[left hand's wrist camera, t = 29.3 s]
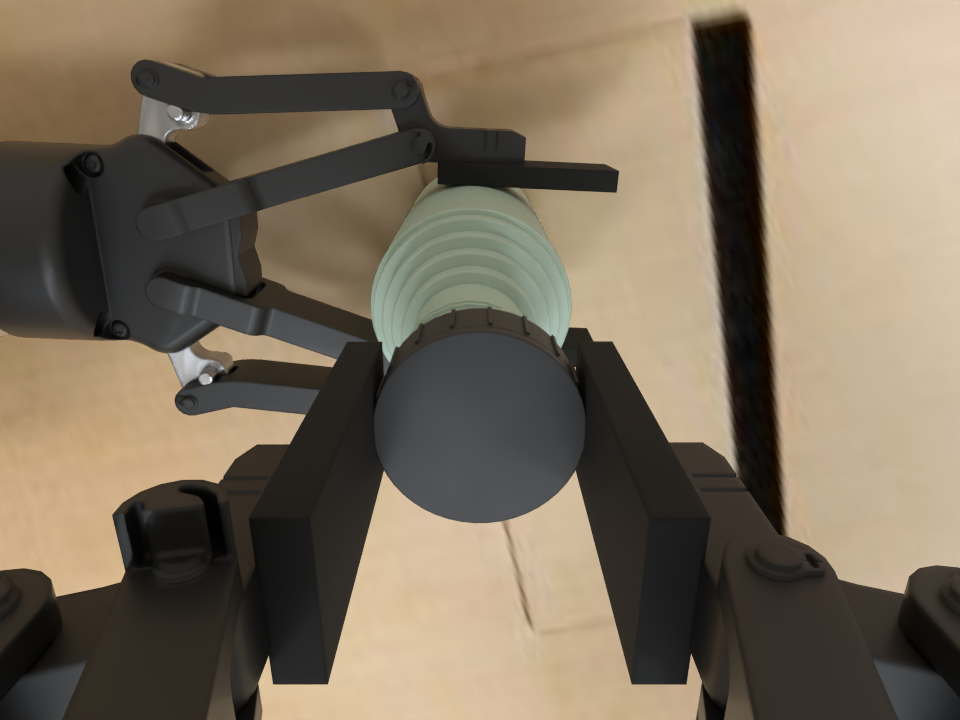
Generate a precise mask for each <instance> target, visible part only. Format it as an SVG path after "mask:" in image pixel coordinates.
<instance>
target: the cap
mask: <svg viewBox="0 0 960 720" xmlns="http://www.w3.org/2000/svg"><path fill="white" fill-rule="evenodd" d="M579 385H580V382H579V379H578V376H577V374H576V371H575V368H574V365H573V363H572V362H571V363H569V361H568V359H567V357H566V356H565V354H564V352H563V350H562V349H561V348H560V346H559V345H558V344H557V342H556V339H555V337H554V336H553V335H551V336H550V335H549V334H548V333H547V332H546V331H544V330H543V329H542V328H540V327H539V326H537V325H536V324H535V323H533V322H531V321H529V320H527V317H526V316H524V315H523V316H522V317H521V316H518V315H516V314H513V313H510V312H506V311H502V310H497V309H492V307H491V306H488V308H470V309H463V310H457V311H456V310H455V309H452V310H451V312H450V313H446V314H444V315H441V316H439V317H436V318H434V319H432V320H430V321H429V322H427V323H425V324H423V323H421V324H419V326H418V329H417V330H415V331H414V332H413V333H412V334H411V335H410V336H409V337H408V338H407V339H406V340H405V341H404V342H403V343H402V344H401V346H400V347H397V346H396V348H395V350H394V353H393V355H392V358H391V361H390V364H389V367H388V369H387V372H386V375H385V376H383V378H382V381H381V383H380V386H379V389H378V392H377V395H376V400H377V401H376V404H375V409H374V430H375V445H376V453H377V455H378V458H379V461H380V463H381V465H382V467H383V469H384V471H385V472H386V474H387V476H388V477H389V479H390V480H391V481H392V483H393V484H394V485H395V486H396V487H397V488H398V489H399V490H400V491H401V492H402V494H403V495H405V496H406V497H407V498H408V499H410V500H411V501H412V502H413V503H415V504H417V505H418V506H420V507H421V508H423V509H425V510H427V511H429V512H431V513H433V514H435V515H438V516H441V517H444V518H447V519H451V520H456V521H461V522H470V523H490V522H499V521H504V520H508V519H512V518H515V517H518V516H521V515H524V514H526V513H528V512H530V511H532V510H534V509H536V508H538V507H540V506H541V505H543V504H544V503H546V502H547V501H549V500H550V499H551V498H552V497H553V496H555V495H556V494H557V493H558V492H559V491H560V490H561V489H562V488H563V487H564V486H565V484H566V483H567V482H568V481H569V479H570V478H571V476H572V475H573V473H574V472H575V470H576V468H577V466H578V464H579V462H580V459H581V457H582V454H583V451H584V439H585V423H586V411H585V407H584V403H583V399H582V396H581V393H580V390H579V388H578V386H579Z"/></svg>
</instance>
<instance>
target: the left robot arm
mask: <svg viewBox="0 0 960 720" xmlns="http://www.w3.org/2000/svg"><path fill="white" fill-rule="evenodd" d="M576 374H577V376H578V379H579V382H580V385H579V386H578V388H579V390H580V393H581V396H582V399H583V403H584V407H585V411H586V423H585V439H584V451H583V454H582V457H581V459H580V462H579V464H578V466H577V468H576V473H577V477H578V481H579V485H580V488H581V492H582V496H583V500H584V504H585V508H586V511H587V515H588V519H589V523H590V527H591V530H592V534H593V538H594V542H595V546H596V550H597V553H598V557H599V561H600V565H601V569H602V572H603V576H604V580H605V584H606V588H607V592H608V595H609V599H610V603H611V607H612V611H613V614H614V618H615V622H616V626H617V630H618V634H619V637H620V641H621V645H622V649H623V653H624V656H625V660H626V664H627V668H628V672H629V676H630V679H631V683H632V684H686V683H687V676H688V670H689V663H690V656H691V654H692V656H693V659H694V662H695V664H696V667H697V669H698V672H699V674H700V677H701V680H702V686H701V692H700V698H699V704H698V711H697V717H696V720H960V568H957V567H947V566H937V565H936V566H930V567H924V568H919V569H918V570H916V571H915V572H914V573H913V574H912V575H910V576H909V579H908V583H907V586H906V590H905V593H904V594H901V593H896V592H891V591H886V590H882V589H877V588H872V587H867V586H862V585H857V584H854V583H850V582H846V581H842V580H839V579H838V578H837V575H836V573H835V571H834V569H833V568H832V567H831V565H830V564H829V563H828V561H827V560H826V559H825V557H823V556H822V555H821V554H819V553H818V552H816V551H815V550H814V549H812V548H811V547H810V546H808V545H806V544H803V543H801V542H799V541H796V540H794V539H792V538H789V537H786V536H781V535H778V533H777V532H776V530H775V529H774V528H773V526H772V525H771V523H770V522H769V520H768V519H767V518H766V516H765V515H764V513H763V512H762V510H761V509H760V507H759V506H758V505H757V503H756V502H755V500H754V499H753V497H752V496H751V494H750V493H749V492H746V487H745V486H744V484H743V483H742V482H741V480H740V479H739V477H736V473H735V471H734V470H733V469H732V467H731V466H730V464H729V463H728V461H727V460H726V459H725V457H724V456H722V455H721V454H719V453H718V452H716V451H715V450H713V449H712V448H710V447H709V446H707V445H706V444H704V443H669V442H668V440H667V439H666V437H665V435H664V433H663V431H662V430H661V428H660V426H659V424H658V423H657V421H656V419H655V417H654V415H653V414H652V412H651V410H650V408H649V406H648V405H647V403H646V401H645V399H644V397H643V396H642V394H641V392H640V390H639V389H638V387H637V385H636V383H635V381H634V380H633V378H632V376H631V374H630V372H629V371H628V369H627V367H626V365H625V364H624V362H623V360H622V358H621V356H620V355H619V353H618V351H617V349H616V347H615V346H614V344H613V342H577V356H576ZM383 376H384V364H383V347H382V342H347V343H346V345H345V347H344V348H343V350H342V352H341V354H340V356H339V357H338V359H337V361H336V363H335V364H334V366H333V368H332V370H331V372H330V373H329V375H328V377H327V379H326V381H325V382H324V384H323V386H322V388H321V390H320V391H319V393H318V395H317V397H316V398H315V400H314V402H313V404H312V406H311V407H310V409H309V411H308V413H307V415H306V416H305V418H304V420H303V422H302V423H301V425H300V427H299V429H298V431H297V432H296V434H295V436H294V438H293V440H292V441H291V443H290V445H256V446H254V447H253V448H251V449H250V450H248V451H247V452H245V453H244V454H242V455H241V456H239V457H238V458H236V459H235V460H234V462H233V463H232V465H231V466H230V468H229V469H228V471H227V472H226V474H225V475H224V479H223V480H221V481H220V482H219V484H217V483H213V482H209V481H205V480H180V481H175V482H170V483H165V484H160V485H157V486H155V487H152V488H150V489H147V490H144V491H142V492H139V493H138V494H136V495H135V496H133V497H131V498H130V499H128V500H127V501H125V502H123V503H122V504H121V505H120V507H119V508H118V509H117V510H116V511H115V512H114V514H113V515H112V516H113V520H114V525H115V529H116V533H117V537H118V542H119V546H120V550H121V554H122V558H123V563H124V567H125V571H126V572H125V574H124V577H123V579H122V581H121V582H120V583H117V584H113V585H109V586H106V587H102V588H97V589H92V590H87V591H82V592H78V593H73V594H68V595H63V596H58V597H56V595H55V592H54V588H53V585H52V581H51V579H50V578H49V577H47V576H46V575H45V574H44V573H43V572H41V571H36V570H31V569H25V568H23V569H13V570H3V571H0V720H261V719H262V705H261V698H260V692H259V686H258V682H259V679H260V677H261V674H262V671H263V669H264V666H265V664H266V661H267V658H268V656H269V659H270V666H271V673H272V679H273V684H328V681H329V678H330V674H331V670H332V666H333V662H334V659H335V655H336V651H337V647H338V643H339V639H340V636H341V632H342V628H343V624H344V620H345V617H346V613H347V609H348V605H349V601H350V598H351V594H352V590H353V586H354V582H355V578H356V575H357V571H358V567H359V563H360V559H361V556H362V552H363V548H364V544H365V540H366V536H367V533H368V529H369V525H370V521H371V517H372V514H373V510H374V506H375V502H376V498H377V494H378V491H379V487H380V483H381V479H382V475H383V472H384V469H383V467H382V465H381V463H380V461H379V458H378V455H377V453H376V445H375V430H374V409H375V404H376V401H377V400H376V395H377V392H378V389H379V386H380V383H381V381H382V378H383Z"/></svg>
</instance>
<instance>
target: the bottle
mask: <svg viewBox="0 0 960 720" xmlns="http://www.w3.org/2000/svg"><path fill="white" fill-rule="evenodd" d="M370 303H371V317H372V323H373V328H374V331H375V334H376V337H377V339H378V342H382V347H383V353H384V355H385V357H386V358H387V360H388V361H389V363H390V361H391V358H392V355H393V353H394V350H395V348H396V346H397V347H400V346H401V344H402V343H403V342H404V341H405V340H406V339H407V338H408V337H409V336H410V335H411V334H412V333H413V332H414V331H415V330H417V329H418V326H419V324H421V323H423V324H425V323H427V322H429V321H430V320H432V319H434V318H436V317H439V316H441V315H444V314H446V313H450V312H451V310H452V309H455V310H456V311H457V310H463V309H470V308H488V306H491V307H492V309H497V310H502V311H506V312H510V313H513V314H516V315H518V316H521V317H522V316H523V315H524V316H526V317H527V320H529V321H531V322H533V323H535V324H536V325H537V326H539V327H540V328H542V329H543V330H544V331H546V332H547V333H548V334H549V335H550V336H551V335H553V336H554V337H555V339H556V342H557V344H558V345H559V346H560V348H561V347H562V344H563V343H564V340H565V337H566V335H567V332H568V328H569V324H570V319H571V308H572V301H571V290H570V285H569V281H568V277H567V274H566V272H565V269H564V266H563V265H562V263H561V261H560V259H559V257H558V255H557V253H556V251H555V249H554V247H553V246H552V244H551V242H550V240H549V238H548V236H547V234H546V232H545V231H544V229H543V227H542V225H541V223H540V221H539V219H538V218H537V216H536V214H535V212H534V210H533V208H532V206H531V204H530V203H529V201H528V199H527V197H526V196H525V194H524V193H523V191H522V190H521V189H520V188H506V187H485V186H463V185H441V184H438V177H437V178H435V179H434V180H433V181H431V182H430V183H429V184H428V185H427V186H426V187H425V188H424V189H423V191H422V192H421V193H420V195H419V196H418V198H417V200H416V201H415V203H414V205H413V206H412V208H411V210H410V212H409V213H408V215H407V217H406V219H405V220H404V222H403V224H402V226H401V227H400V229H399V231H398V232H397V234H396V236H395V238H394V239H393V241H392V243H391V245H390V246H389V248H388V250H387V252H386V253H385V255H384V257H383V259H382V261H381V262H380V264H379V266H378V269H377V272H376V274H375V277H374V281H373V286H372V291H371V302H370Z"/></svg>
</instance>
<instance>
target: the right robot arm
mask: <svg viewBox="0 0 960 720" xmlns="http://www.w3.org/2000/svg"><path fill="white" fill-rule="evenodd" d="M131 81H132V83H133V85H134V87H135V88H136V90H137V91H138V92H139V93H140V94H142V95H143V98H142V105H141V112H140V120H139V127H138V134H136V135H131V136H128V137H126V138H124V139H123V140H121V141H119V142H118V143H116V144H113V145H90V144H68V143H47V142H25V141H5V142H0V336H5V335H8V334H11V335H14V336H17V337H25V338H51V339H76V340H131V341H135V342H138V343H141V344H144V345H146V346H148V347H150V348H152V349H154V350H156V351H158V352H162V353H168V356H169V358H170V360H171V362H172V365H173V367H174V369H175V372H176V374H177V376H178V378H179V381H180V383H181V385H182V389H181V390H180V391H179V392H178V393H177V395H176V397H175V404H176V407H177V408H178V409H179V411H181V412H182V413H184V414H187V415H198V414H203V413H208V412H212V411H217V410H221V409H226V408H230V407H239V408H249V409H258V410H268V411H278V412H287V413H297V414H306V415H307V413H308V411H309V409H310V407H311V406H312V404H313V402H314V400H315V398H316V397H317V395H318V393H319V391H320V390H321V388H322V386H323V384H324V382H325V381H326V379H327V377H328V375H329V373H330V372H331V370H332V368H333V367H324V366H315V365H306V364H297V363H287V362H278V361H269V360H257V359H247V360H237V361H232V356H231V355H230V354H229V353H226V352H214V351H209V350H207V349H205V348H204V347H203V346H202V345H201V344H200V343H199V340H200V339H201V338H203V337H204V336H206V335H207V334H209V333H210V332H212V331H213V330H214V329H216V328H217V327H219V326H223V327H226V328H229V329H232V330H235V331H238V332H241V333H244V334H248V335H253V336H257V335H266V336H270V337H273V338H276V339H279V340H282V341H285V342H287V343H290V344H293V345H296V346H299V347H302V348H305V349H308V350H311V351H314V352H317V353H320V354H323V355H326V356H329V357H332V358H335V359H338V357H339V356H340V354H341V352H342V350H343V348H344V347H345V345H346V343H347V342H378V339H377V337H376V334H375V331H374V328H373V323H372V320H371V319H368V318H365V317H362V316H359V315H356V314H353V313H351V312H348V311H345V310H342V309H339V308H336V307H333V306H331V305H328V304H325V303H322V302H319V301H316V300H313V299H310V298H308V297H305V296H302V295H299V294H296V293H293V292H291V291H289V290H287V289H286V287H285V286H283V285H281V284H279V283H277V282H274V281H271V280H268V279H265V278H262V272H261V264H260V261H259V258H258V255H257V252H256V249H255V240H256V234H257V229H258V220H257V211H259V210H262V209H265V208H268V207H272V206H275V205H279V204H282V203H285V202H289V201H292V200H296V199H299V198H303V197H306V196H310V195H313V194H316V193H320V192H323V191H327V190H330V189H334V188H337V187H341V186H344V185H347V184H351V183H354V182H358V181H361V180H365V179H368V178H372V177H375V176H379V175H382V174H385V173H389V172H392V171H396V170H399V169H403V168H406V167H410V166H413V165H416V164H420V163H423V164H424V163H426V162H438V184H441V185H463V186H485V187H506V188H528V189H550V190H572V191H594V192H617V183H618V175H619V171H618V170H616V169H613V168H611V167H609V166H607V165H605V164H588V163H566V162H545V161H524V157H525V143H526V137H524V136H523V135H521V134H519V133H517V132H514V131H512V130H509V129H489V128H468V127H449V126H444V125H442V124H440V123H438V122H437V121H436V120H435V119H434V118H433V116H432V114H431V112H430V110H429V106H428V103H427V100H426V97H425V94H424V90H423V86H422V83H421V82H420V80H419V79H418V78H417V77H416V76H414V75H412V74H410V73H407V72H402V71H388V72H356V73H324V74H293V75H261V76H230V77H216V76H214V75H211V74H208V73H205V72H202V71H199V70H196V69H193V68H190V67H187V66H184V65H181V64H176V63H168V62H161V61H151V60H142V61H138V62H137V63H136V64H135V65H134V66H133V68H132V71H131ZM374 109H392V112H393V115H394V118H395V121H396V124H397V127H398V130H399V132H396V133H393V134H389V135H386V136H383V137H379V138H376V139H372V140H369V141H366V142H362V143H359V144H355V145H352V146H349V147H345V148H342V149H339V150H335V151H332V152H328V153H325V154H322V155H318V156H315V157H311V158H308V159H305V160H301V161H298V162H295V163H291V164H288V165H284V166H281V167H278V168H274V169H271V170H267V171H264V172H260V173H257V174H253V175H250V176H247V177H243V178H240V179H236V180H233V181H229V180H227V179H226V178H225V177H223V176H222V175H221V174H219V173H218V172H216V171H215V170H214V169H212V168H211V167H210V166H208V165H207V164H206V163H204V162H203V161H202V160H200V159H199V158H197V157H196V156H195V155H193V154H192V153H191V152H189V151H188V150H187V149H185V148H184V147H182V146H181V145H180V144H178V143H177V142H176V141H175V139H176V136H177V134H178V133H179V132H180V131H181V130H183V129H197V128H201V127H203V126H204V125H205V124H206V123H207V122H208V119H209V116H210V114H246V113H278V112H310V111H342V110H374ZM577 342H593V340H592V338H591V336H590V334H589V332H588V330H587V328H568V332H567V335H566V337H565V340H564V343H563V344H562V347H561V349H562V350H563V352H564V354H565V356H566V357H567V359H568V361H569V363H571V362H572V363H573V365H574V367H576V356H577ZM383 364H384V376H385V375H386V372H387V369H388V367H389V364H390V363H389V361H388V360H387V358H386V357H385V355H384V353H383Z"/></svg>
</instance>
